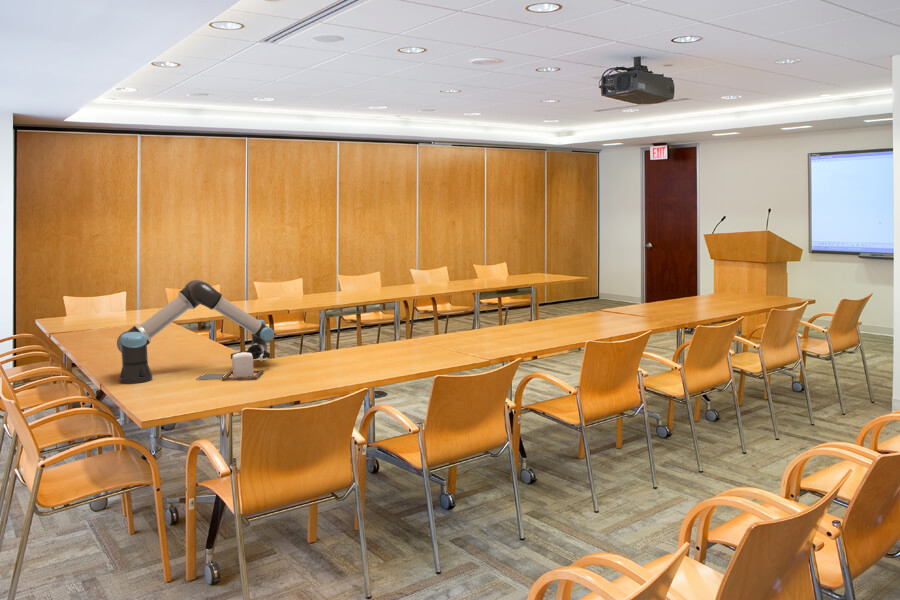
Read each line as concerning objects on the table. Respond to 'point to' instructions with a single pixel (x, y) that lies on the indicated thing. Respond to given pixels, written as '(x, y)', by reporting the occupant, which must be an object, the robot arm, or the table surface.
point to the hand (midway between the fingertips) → (247, 358)
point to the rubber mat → (211, 376)
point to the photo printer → (242, 365)
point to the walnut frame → (259, 373)
